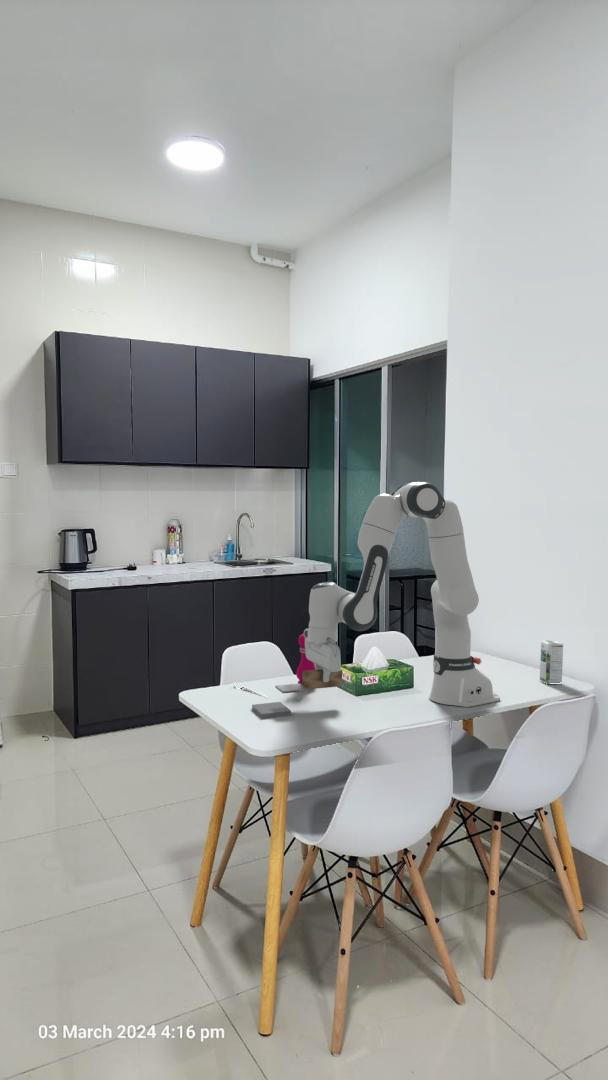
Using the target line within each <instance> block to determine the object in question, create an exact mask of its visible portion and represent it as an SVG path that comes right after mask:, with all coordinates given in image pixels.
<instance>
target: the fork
mask: <svg viewBox="0 0 608 1080" xmlns="http://www.w3.org/2000/svg"><path fill="white" fill-rule="evenodd" d="M231 683H232V684H233V687H234V688H235V689H236V688H238V689H237V690H239V689H240V688H242V687H245V686H244V685H242V684H241V682H240V681H239V680H237V681H231ZM240 691H247V692H249V691H250V693H252V692H254V693H257V694H260V695H262V696H261V697H263V696H265V697H264V698H266V697H268V696H267V695H266V694H263V693H261V692H258V691H256V690H253V689H252V688H250V687H245V688H243V689H240ZM254 693H253V694H254ZM257 694H256V695H257ZM260 695H259V696H260Z"/></svg>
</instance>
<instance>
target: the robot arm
mask: <svg viewBox="0 0 608 1080" xmlns="http://www.w3.org/2000/svg"><path fill="white" fill-rule="evenodd" d="M458 507H459V506H458V505H457V504H456V502H454V501H452V500H449V499H445V498H444V497H443V495H442V494H441V492H440V491H439V488H437V487H436V486H435V484H432V483H430V482H427V481H421V482H420V481H413V482H410V483H404V484H403V485H401V486H399V487H398V488H396V490H395V491H393V493H391V494H389V493H381V494H378V495H376V496H375V497H374V498H373V499H372V501H371V502H370V504H369V506H368V509H367V510H366V513H365V515H364V517H363V520H362V521H361V526H360V528H359V531H358V537H357V547H358V549H359V552H361V555H362V559H363V569H362V573H361V576H360V579H359V582H358V587H357V590H356V592H353V591H349V590H346V589H345V588H343V587H341V586H339V585H338V584H337V583H336V582H333V581H326V582H325V581H324V582H319V583H316V584H314V585H313V586H312V588H311V589H310V593H309V600H308V601H309V603H308V614H309V622H308V628H305V629H306V630H305V629H304V631H303V633H304V637H306V638H305V654H306V658H307V659H308V660H310V661H312V662H314V664H315V670H321V669H323V671H324V672H323V675H322V681H323V682H328V681H329V675H330V672H338V671H340V669H341V670H342V666H341V665H342V662H341V661H342V660H341V650H340V647H339V646H338V645H337V642H338V625H339V623H343V624H346V625H347V626H348V628H349V629H351V630H353V631H356V632H363V631H368V630H369V629H370V628H371V627H373V626H374V624H375V623H376V621H377V619H378V613H379V612H378V597H379V593H380V590H381V586H382V583H383V579H384V576H385V572H386V569H387V564H388V559H389V556H390V552H391V549H392V547H393V545H394V541H395V538H396V536H397V532H398V529H399V526H400V525H401V523H402V521H403V520H404V519H405V518H412V519H418V518H419V519H420V518H422V520H423V521H424V522H425V525H426V528H427V536H428V546H429V552H430V560H431V563H432V567H433V570H434V573H435V577H436V580H435V581H434V582H433V583H432V585H431V588H430V595H431V601H432V611H433V612H432V613H433V622H434V628H435V629H434V631H435V633H434V634H435V635H434V637H435V640H434V641H435V642H434V643H435V644H434V649H435V650H434V654H433V663H432V665H433V679H432V686H431V691H430V694H429V697H428V698H429V700H431V701H433V702H435V703H438V704H440V705H441V704H442V705H449V706H459V707H465V708H470V707H475V706H480V705H484V704H485V705H486V704H490V703H494V702H499V700H500V701H501V697H500V696H499V695H498V694H497V693H495V692H494V691H493V683H492V681H491V679H490V678H489V677H488V676H487V675H485V674H484V673H483V672H482V671H480V670H479V669H478V668H477V667H476V665H481V663H482V659H481V657H478V656H475V657H474V656H472V655H471V643H472V642H471V641H472V639H471V637H472V633H471V628H470V624H469V619H468V615H471V614H472V613H473V612H474V611H475V610H476V609H477V607H478V605H479V602H480V601H479V599H480V598H479V594H478V591H477V589H476V586H475V582H474V577H473V574H472V572H471V567H470V565H469V560H468V555H467V549H466V548H467V547H466V541H465V533H464V527H463V522H462V521H463V520H462V517H461V514H460V511H459V508H458ZM475 664H476V665H475Z"/></svg>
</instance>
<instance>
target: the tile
mask: <svg viewBox="0 0 608 1080" xmlns="http://www.w3.org/2000/svg"><path fill="white" fill-rule="evenodd" d="M251 709H253V712H254V713H255V714H257V716H259V717H260V718H261V719H262V718H263V719H271V718H270V717H272V718H279V717H290V716H292V710H291V709H289V708H288V707H287V706H286V705H285V704H284V703H282V702H281V701H276V702H266V703H257V704H252V705H251Z"/></svg>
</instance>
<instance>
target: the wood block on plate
mask: <svg viewBox="0 0 608 1080" xmlns="http://www.w3.org/2000/svg"><path fill="white" fill-rule="evenodd" d="M323 672H324V671H323V668H322V669H321V670H308V671H302V685H301V684H298V683H292V684H291V683H290V684H282V685H281V684H280V685H275V686H274V687H275V689H276V690H278V691H279V692H281V693H282V694H291V693H292V694H294V693H303V692H308V691H309V690H316V689H317V690H318V689H326V688H327V689H328V688H337V687H343V670H342V668H341V669H340V671H338V672H330V675H329V681H328V682H323V681H322V675H323Z"/></svg>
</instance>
